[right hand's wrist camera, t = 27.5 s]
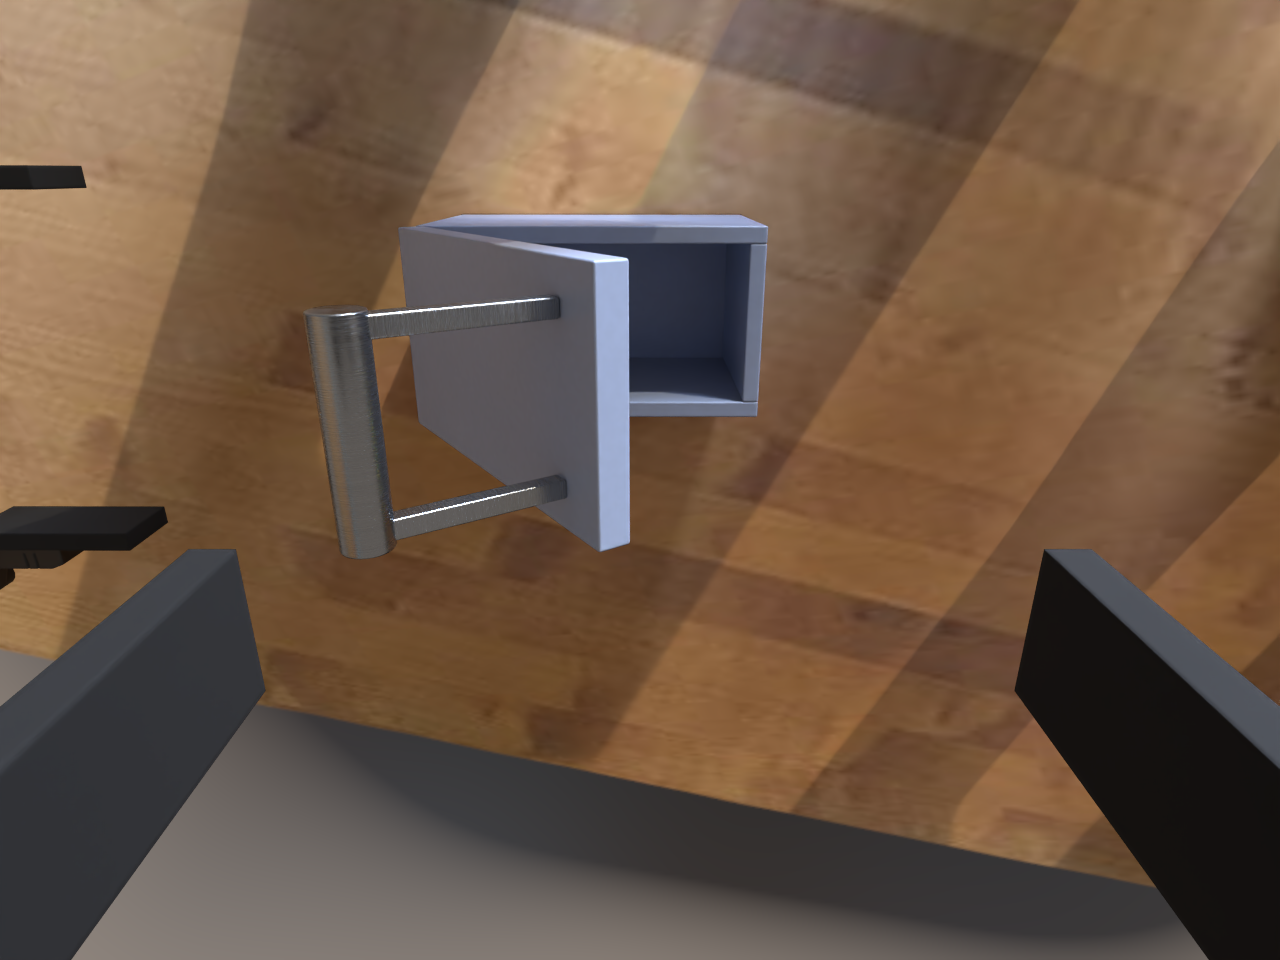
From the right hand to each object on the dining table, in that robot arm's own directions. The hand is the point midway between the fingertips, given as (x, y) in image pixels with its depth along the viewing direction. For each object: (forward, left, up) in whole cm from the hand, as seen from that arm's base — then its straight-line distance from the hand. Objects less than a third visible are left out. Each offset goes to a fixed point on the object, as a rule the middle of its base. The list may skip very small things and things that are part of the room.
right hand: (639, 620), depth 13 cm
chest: (+1, -2, -38) cm, 38 cm away
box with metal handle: (+3, -4, -20) cm, 20 cm away
